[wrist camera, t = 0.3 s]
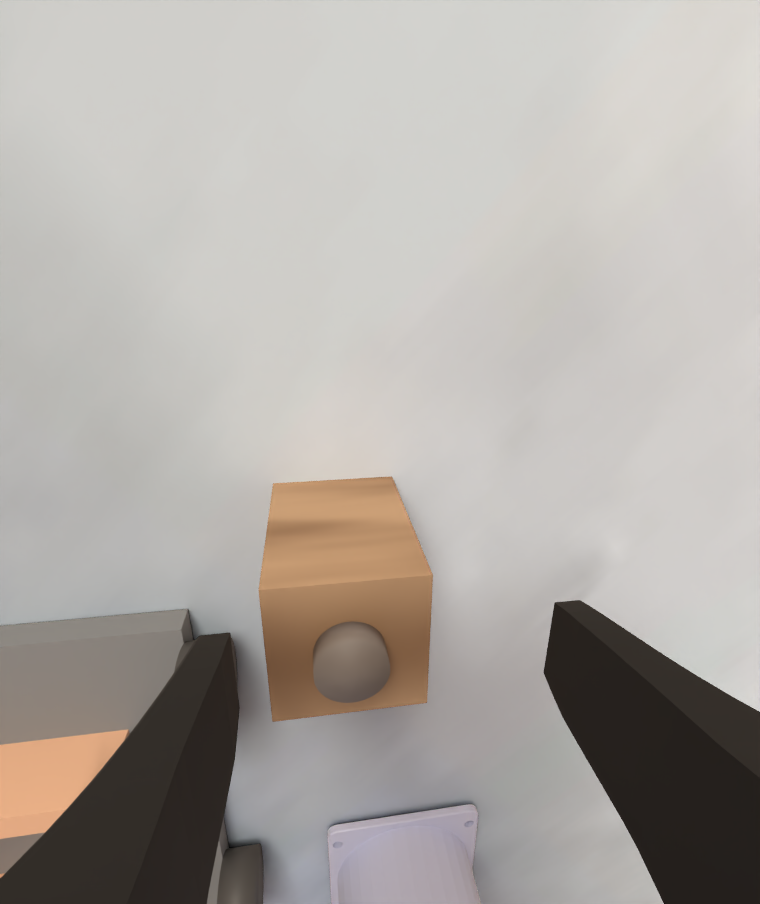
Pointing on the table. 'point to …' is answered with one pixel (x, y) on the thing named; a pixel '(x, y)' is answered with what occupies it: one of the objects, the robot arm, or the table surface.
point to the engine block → (343, 599)
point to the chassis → (89, 724)
